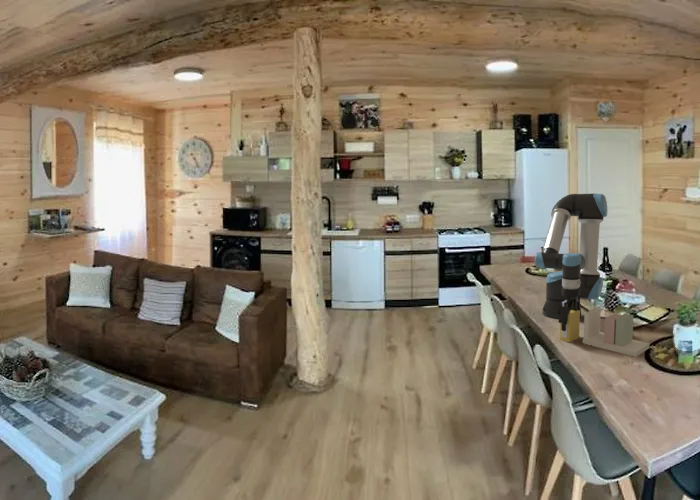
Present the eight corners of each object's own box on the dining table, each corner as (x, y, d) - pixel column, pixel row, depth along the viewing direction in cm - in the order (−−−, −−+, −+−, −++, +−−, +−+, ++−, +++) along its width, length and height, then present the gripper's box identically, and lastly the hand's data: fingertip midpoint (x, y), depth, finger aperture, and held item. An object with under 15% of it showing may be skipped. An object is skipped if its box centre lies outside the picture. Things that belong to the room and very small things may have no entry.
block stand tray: (582, 343, 213) (583, 313, 211) (597, 335, 222) (598, 306, 219) (635, 356, 196) (637, 324, 194) (649, 347, 204) (651, 316, 202)
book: (559, 339, 219) (560, 312, 217) (569, 335, 224) (570, 308, 222) (569, 342, 215) (570, 314, 213) (579, 337, 221) (579, 310, 219)
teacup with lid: (606, 337, 219) (607, 313, 217) (589, 331, 227) (590, 308, 225) (624, 332, 224) (625, 308, 222) (607, 327, 232) (608, 304, 230)
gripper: (566, 293, 206) (565, 342, 210) (590, 284, 219) (589, 330, 223) (550, 290, 212) (549, 338, 216) (574, 281, 225) (573, 327, 229)
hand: (569, 334), depth 219 cm, fingers closed on book, 9 cm apart
